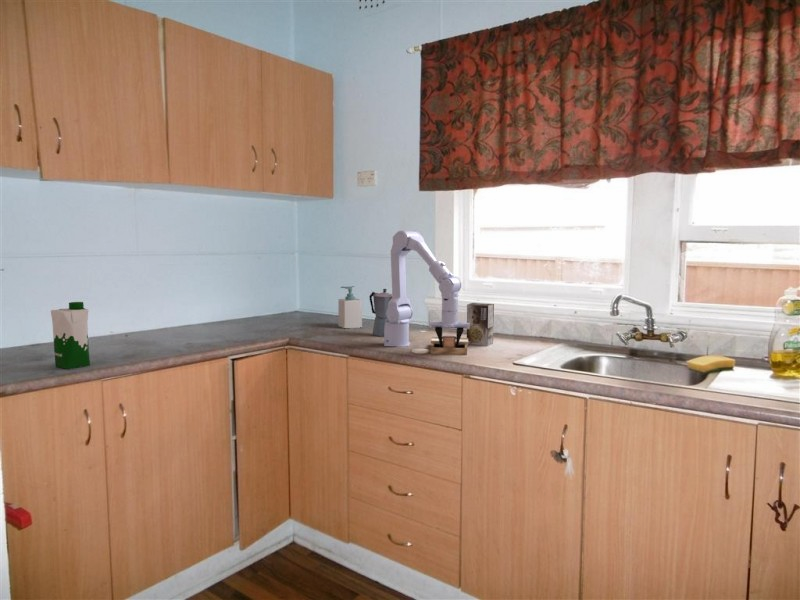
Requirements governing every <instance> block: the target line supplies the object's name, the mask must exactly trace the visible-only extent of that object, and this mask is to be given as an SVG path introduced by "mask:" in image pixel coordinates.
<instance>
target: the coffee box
mask: <svg viewBox="0 0 800 600" xmlns="http://www.w3.org/2000/svg"><path fill="white" fill-rule="evenodd" d="M494 310H495V304H494V303H486V302H485V303H484V302H482V303H481V302H471V303H468V304H466V323H470V329H466V338H468V344H467V345H473V346H483V347H484V346H485V347H489V346H491V345H494V321H495V320H494V319H495V318H494V315H495V314H494V313H495V311H494Z"/></svg>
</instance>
